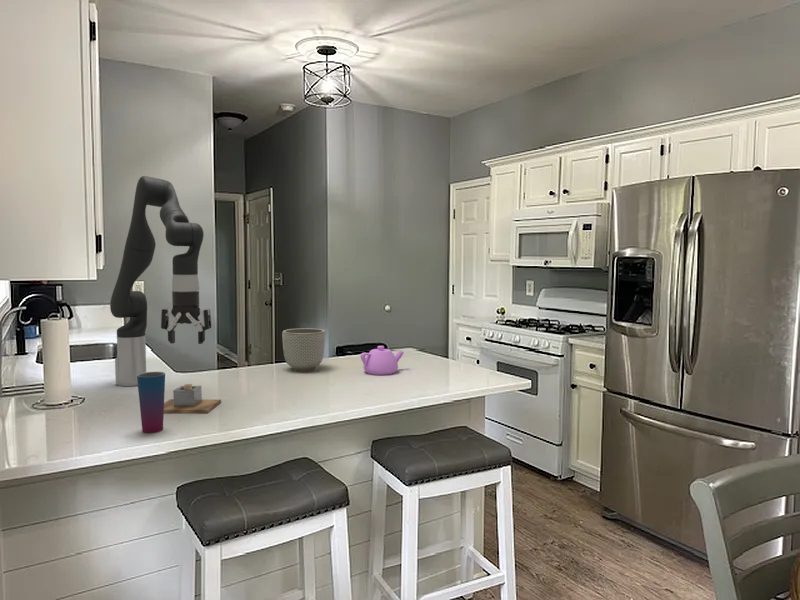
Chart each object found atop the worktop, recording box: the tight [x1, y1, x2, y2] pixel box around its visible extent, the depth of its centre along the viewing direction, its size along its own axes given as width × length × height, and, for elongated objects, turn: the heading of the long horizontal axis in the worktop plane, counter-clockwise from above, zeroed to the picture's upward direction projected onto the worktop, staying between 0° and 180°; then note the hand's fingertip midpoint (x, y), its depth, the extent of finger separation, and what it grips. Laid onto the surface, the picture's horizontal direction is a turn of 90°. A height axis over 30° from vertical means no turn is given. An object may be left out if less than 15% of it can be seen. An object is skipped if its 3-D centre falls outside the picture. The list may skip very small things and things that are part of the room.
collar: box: [172, 385, 203, 407], centre depth 169 cm, size 6×6×5 cm
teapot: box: [360, 345, 404, 376], centre depth 224 cm, size 14×20×11 cm
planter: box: [281, 327, 326, 373], centre depth 227 cm, size 17×17×16 cm
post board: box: [164, 383, 222, 414], centre depth 169 cm, size 16×12×7 cm
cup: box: [137, 371, 166, 434], centre depth 147 cm, size 7×7×15 cm
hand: (186, 343), depth 168 cm, fingers open, 8 cm apart
